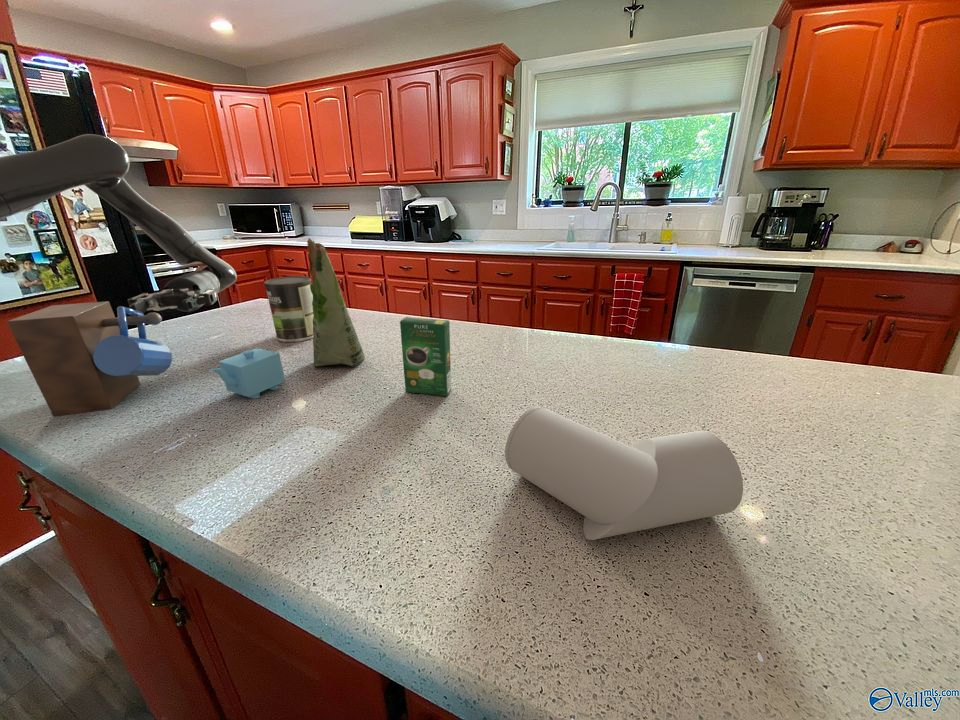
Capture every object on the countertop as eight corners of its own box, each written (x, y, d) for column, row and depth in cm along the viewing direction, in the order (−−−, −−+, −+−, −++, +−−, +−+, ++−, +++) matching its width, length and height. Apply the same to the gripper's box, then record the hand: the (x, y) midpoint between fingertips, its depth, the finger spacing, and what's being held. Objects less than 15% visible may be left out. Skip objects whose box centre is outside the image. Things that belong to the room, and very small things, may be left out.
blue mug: (95, 378, 61) (132, 378, 70) (144, 373, 63) (174, 373, 72) (86, 305, 61) (124, 314, 70) (135, 301, 63) (166, 311, 72)
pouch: (346, 375, 76) (324, 241, 67) (295, 369, 80) (267, 240, 70) (376, 355, 86) (361, 235, 77) (330, 350, 90) (309, 235, 80)
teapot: (231, 411, 64) (218, 368, 61) (209, 403, 67) (196, 362, 64) (293, 382, 74) (285, 344, 71) (271, 376, 77) (263, 340, 74)
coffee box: (454, 390, 70) (450, 318, 65) (448, 397, 67) (444, 323, 62) (411, 386, 72) (404, 316, 67) (404, 393, 69) (397, 320, 64)
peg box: (53, 416, 64) (6, 321, 58) (89, 390, 73) (52, 305, 67) (168, 401, 68) (136, 310, 62) (190, 378, 77) (163, 297, 71)
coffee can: (287, 345, 93) (274, 286, 88) (270, 336, 100) (257, 280, 94) (328, 334, 100) (318, 279, 95) (309, 327, 107) (299, 274, 101)
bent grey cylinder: (550, 582, 33) (753, 538, 37) (546, 464, 31) (759, 430, 35) (498, 485, 50) (640, 461, 54) (493, 405, 48) (640, 386, 52)
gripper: (149, 276, 88) (108, 292, 73) (221, 272, 91) (196, 286, 77) (160, 309, 90) (123, 330, 76) (230, 304, 94) (207, 323, 80)
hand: (160, 308), depth 76 cm, fingers open, 8 cm apart
